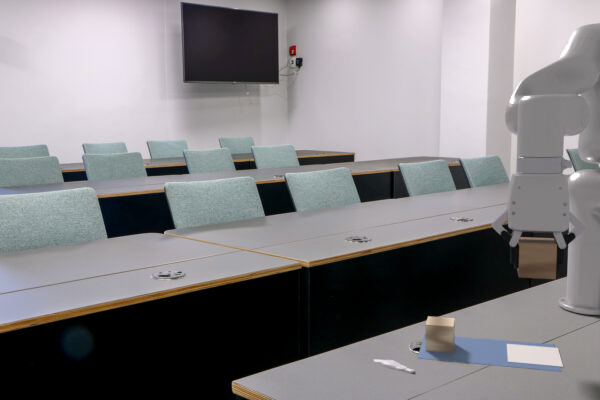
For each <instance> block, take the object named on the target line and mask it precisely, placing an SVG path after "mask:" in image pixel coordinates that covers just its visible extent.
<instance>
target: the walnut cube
mask: <svg viewBox="0 0 600 400" xmlns="http://www.w3.org/2000/svg"><path fill="white" fill-rule="evenodd" d="M556 242H557V241H556V239H555V237H554V238H553V237H551V238H550V237H531V236H530V237H527V236H525V237H524V236H520V238H519V240H518V245H519V269H516V270H517V276H518V278H522V279H526V278H528V279H545V280H556V279H557V271H556V260H557V244H556Z"/></svg>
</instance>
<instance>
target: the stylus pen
mask: <svg viewBox="0 0 600 400" xmlns="http://www.w3.org/2000/svg"><path fill="white" fill-rule="evenodd" d="M373 361H374V362H375V363H378V364H379V365H381V366H383V367H385V368H387V369H392V370H396V371H400V372H401V371H402V372H407V373H411V374H413V373H416V370H415V369H412V368H409V366H405V365H404V364H402V363H399V362H398V361H395V359H394V360H393V359H376V358H374V359H373Z"/></svg>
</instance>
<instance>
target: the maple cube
mask: <svg viewBox="0 0 600 400" xmlns="http://www.w3.org/2000/svg"><path fill="white" fill-rule="evenodd" d="M455 331H456V318H455V317H446V316H445V317H444V316H442V317H441V316H429V315H428V316H427V319H426V321H425V330H424V335H425V351H436V352H447V353H453V350H454V344H455V336H456V335H455Z"/></svg>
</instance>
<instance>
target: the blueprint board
mask: <svg viewBox="0 0 600 400" xmlns="http://www.w3.org/2000/svg"><path fill="white" fill-rule="evenodd" d="M417 359H421V360H431V361H443V362H452V363H455V362H456V363H462V364H463V363H465V364H473V365H474V364H475V365H485V366H497V367H509V368H516V369H517V368H518V369H529V370H541V371H552V372H562V368H564V365H563V361H562V358H561V354H560V352H559V348H558V347H555V344H551V343H538V342H528V341H516V340H515V341H514V340H505V339H503V340H502V339H491V338H490V339H489V338H478V337H467V336H456V335H455V344H454V350H453V353H447V352H436V351H425V334H424V336H423V338H422V343H421V345H420V348H419V352H418V355H417Z"/></svg>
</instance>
